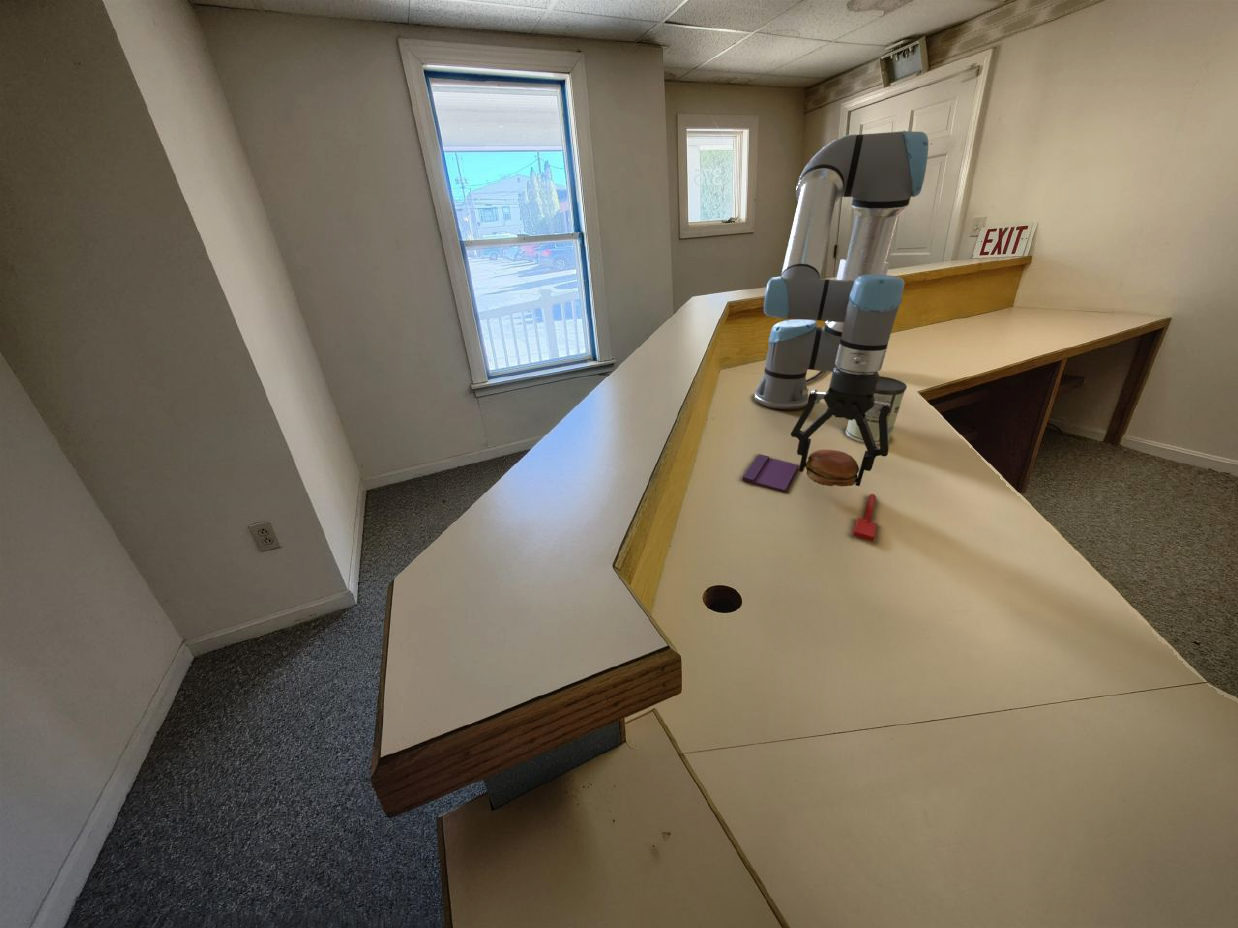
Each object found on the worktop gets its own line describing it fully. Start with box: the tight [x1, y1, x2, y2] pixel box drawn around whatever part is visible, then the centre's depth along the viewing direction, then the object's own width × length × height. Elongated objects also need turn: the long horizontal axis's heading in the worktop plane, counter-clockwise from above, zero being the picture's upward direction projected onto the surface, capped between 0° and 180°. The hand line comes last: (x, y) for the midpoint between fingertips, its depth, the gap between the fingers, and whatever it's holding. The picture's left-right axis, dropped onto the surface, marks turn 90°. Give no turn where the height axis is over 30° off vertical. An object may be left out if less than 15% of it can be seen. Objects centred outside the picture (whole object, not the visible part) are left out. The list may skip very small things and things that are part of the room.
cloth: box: [742, 453, 799, 493], centre depth 99 cm, size 12×9×1 cm
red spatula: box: [852, 493, 878, 542], centre depth 85 cm, size 15×3×1 cm, turn 149°
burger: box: [805, 448, 860, 487], centre depth 91 cm, size 10×9×5 cm
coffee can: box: [844, 375, 908, 445], centre depth 112 cm, size 10×10×14 cm
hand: (829, 475), depth 92 cm, fingers closed on burger, 10 cm apart
